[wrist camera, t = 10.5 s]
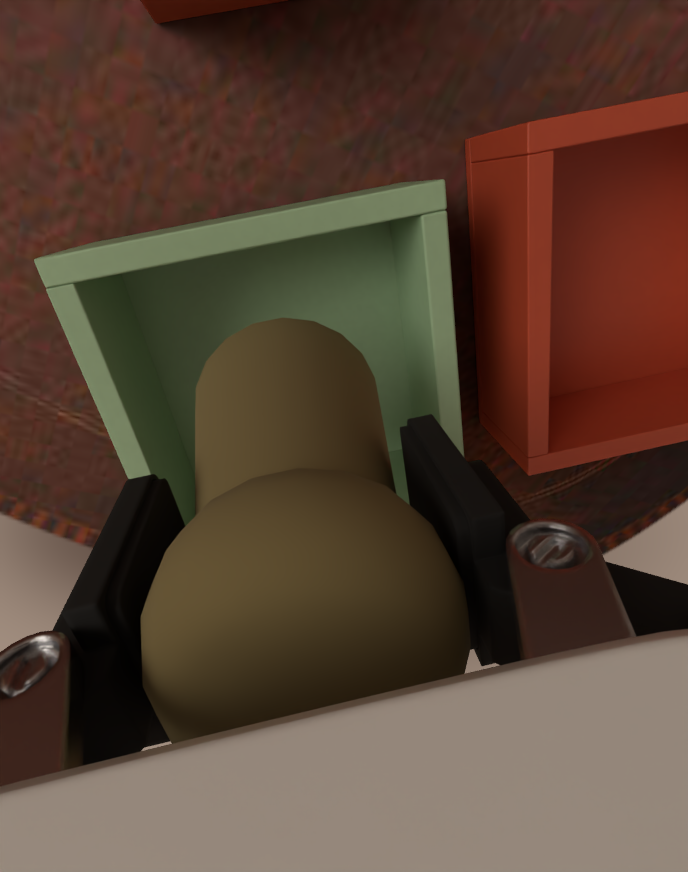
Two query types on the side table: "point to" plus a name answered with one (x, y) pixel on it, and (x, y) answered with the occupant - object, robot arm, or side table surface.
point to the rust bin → (582, 282)
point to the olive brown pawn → (294, 547)
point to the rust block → (195, 7)
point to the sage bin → (262, 313)
